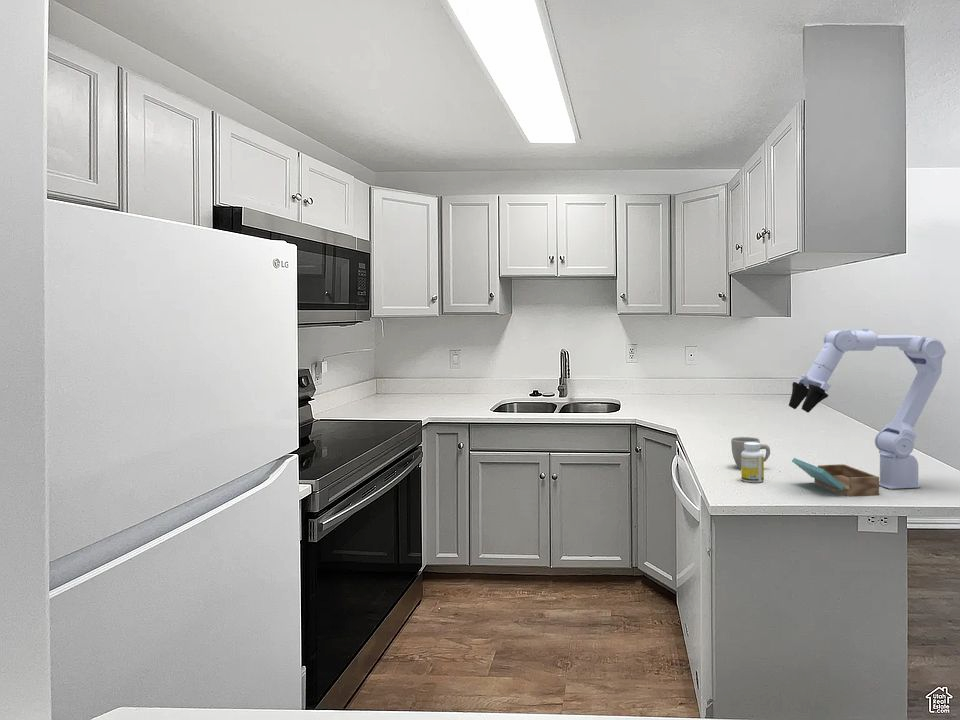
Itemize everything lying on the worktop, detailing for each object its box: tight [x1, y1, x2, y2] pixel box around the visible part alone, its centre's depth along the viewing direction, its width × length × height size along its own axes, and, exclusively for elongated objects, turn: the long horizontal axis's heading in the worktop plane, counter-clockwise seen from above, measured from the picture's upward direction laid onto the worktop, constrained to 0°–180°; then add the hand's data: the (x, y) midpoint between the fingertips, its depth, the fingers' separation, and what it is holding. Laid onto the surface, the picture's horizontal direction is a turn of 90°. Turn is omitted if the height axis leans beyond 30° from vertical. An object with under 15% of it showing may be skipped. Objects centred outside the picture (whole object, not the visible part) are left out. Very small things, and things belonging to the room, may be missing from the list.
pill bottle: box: [740, 442, 765, 484], centre depth 230 cm, size 6×6×12 cm
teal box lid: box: [791, 457, 846, 490], centre depth 217 cm, size 1×17×8 cm
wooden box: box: [814, 463, 880, 497], centre depth 218 cm, size 9×18×5 cm, turn 4°
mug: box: [730, 436, 771, 470], centre depth 248 cm, size 12×9×10 cm
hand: (798, 409), depth 215 cm, fingers open, 7 cm apart
